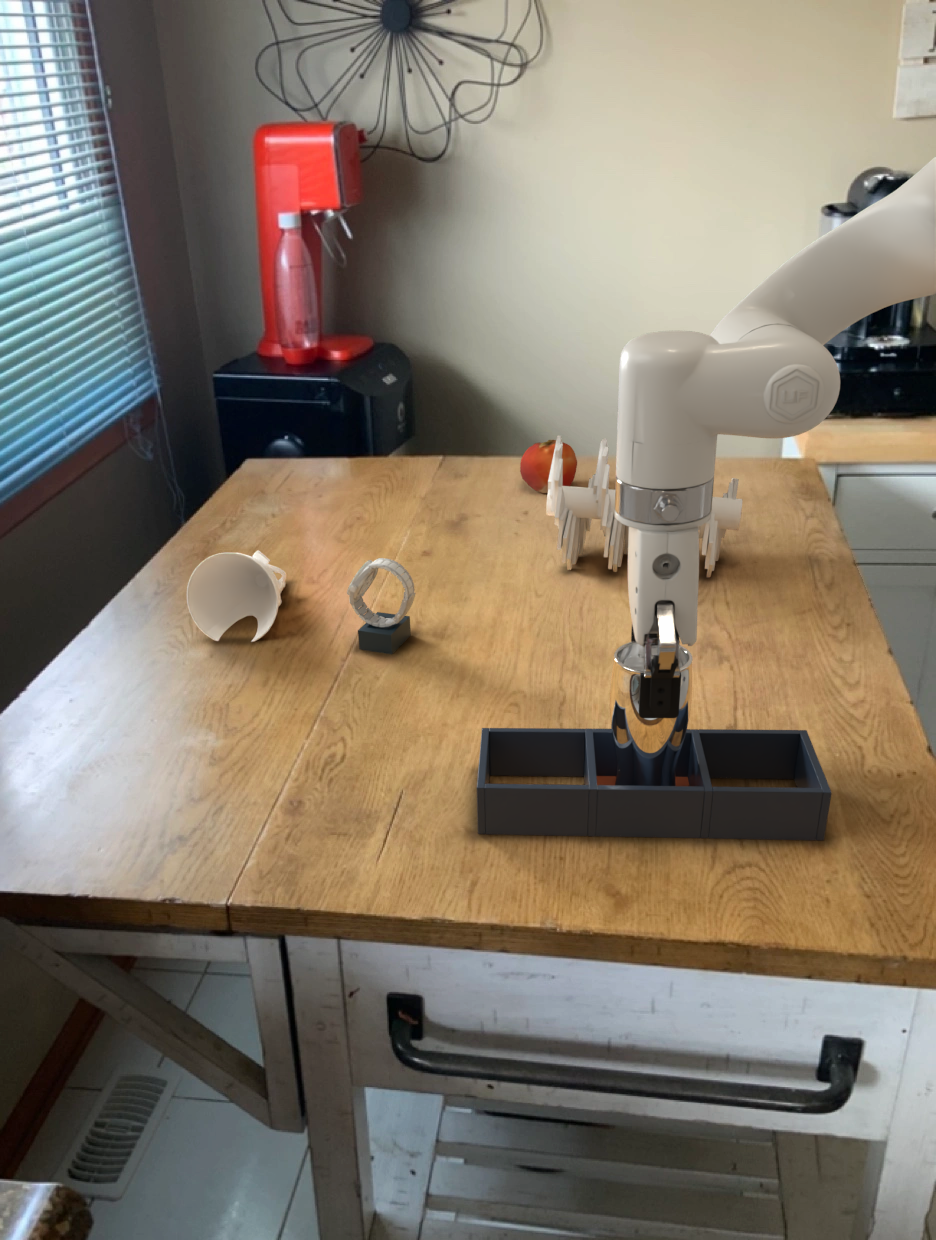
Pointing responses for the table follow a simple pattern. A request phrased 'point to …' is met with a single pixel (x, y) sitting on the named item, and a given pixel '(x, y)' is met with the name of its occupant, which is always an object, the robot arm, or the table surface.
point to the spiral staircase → (598, 502)
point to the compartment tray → (652, 787)
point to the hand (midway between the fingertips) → (653, 688)
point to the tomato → (546, 465)
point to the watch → (381, 627)
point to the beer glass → (645, 722)
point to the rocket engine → (234, 592)
